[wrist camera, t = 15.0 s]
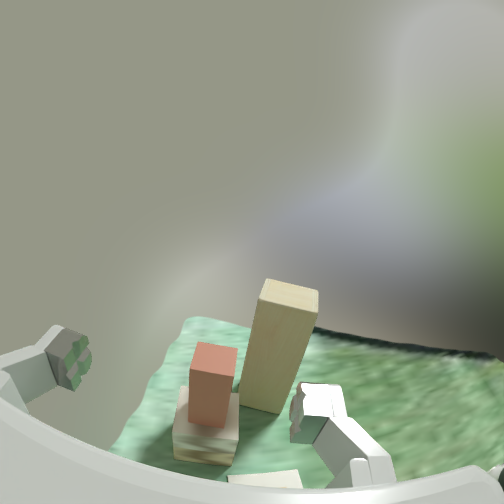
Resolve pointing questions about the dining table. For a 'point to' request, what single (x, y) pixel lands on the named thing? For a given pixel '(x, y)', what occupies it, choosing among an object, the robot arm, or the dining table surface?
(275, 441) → the dining table surface
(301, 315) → the tall beige pillar
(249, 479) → the page
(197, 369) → the tall brick
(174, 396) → the dining table surface
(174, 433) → the tower base
